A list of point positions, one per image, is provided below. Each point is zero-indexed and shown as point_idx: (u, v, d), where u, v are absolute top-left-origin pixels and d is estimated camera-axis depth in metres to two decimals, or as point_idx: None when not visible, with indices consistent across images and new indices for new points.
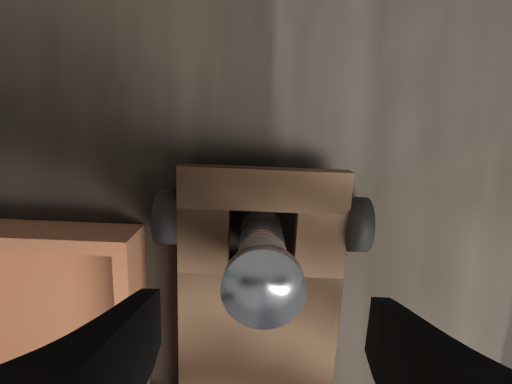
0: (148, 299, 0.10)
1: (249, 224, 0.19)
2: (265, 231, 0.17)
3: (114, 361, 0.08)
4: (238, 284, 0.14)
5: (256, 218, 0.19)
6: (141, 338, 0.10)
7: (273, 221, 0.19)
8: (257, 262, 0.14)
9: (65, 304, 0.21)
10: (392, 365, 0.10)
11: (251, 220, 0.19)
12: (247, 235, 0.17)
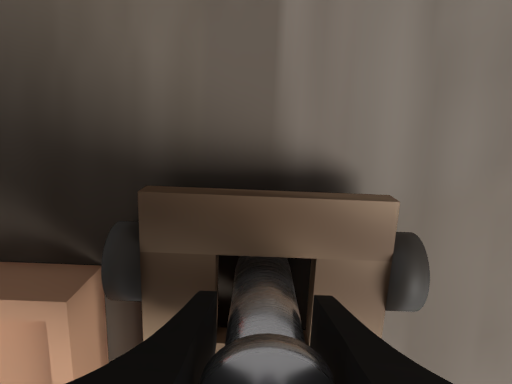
0: (212, 301, 0.10)
1: (245, 273, 0.13)
2: (269, 292, 0.11)
3: (193, 364, 0.08)
4: None
5: (255, 262, 0.14)
6: (207, 340, 0.10)
7: (279, 267, 0.13)
8: (257, 371, 0.08)
9: None
10: None
11: (248, 265, 0.14)
12: (242, 296, 0.12)
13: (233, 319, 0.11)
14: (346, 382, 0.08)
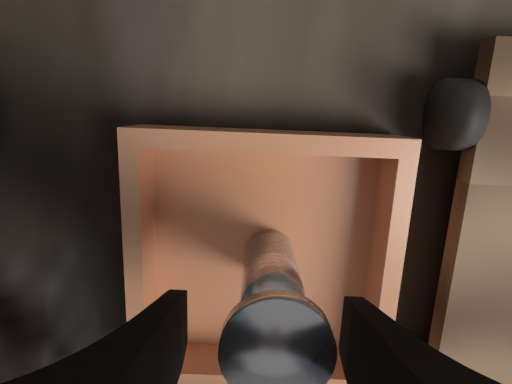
0: (178, 300, 0.10)
1: (255, 250, 0.15)
2: (277, 264, 0.13)
3: (152, 362, 0.08)
4: (243, 346, 0.10)
5: (264, 242, 0.15)
6: (173, 339, 0.10)
7: (285, 246, 0.15)
8: (270, 317, 0.10)
9: (289, 236, 0.17)
10: (360, 363, 0.10)
11: (258, 244, 0.15)
12: (254, 267, 0.13)
13: (247, 284, 0.13)
14: None
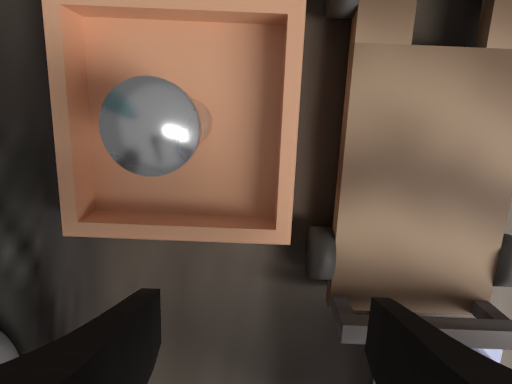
0: (148, 299, 0.10)
1: None
2: None
3: (114, 361, 0.08)
4: (119, 117, 0.12)
5: None
6: (141, 338, 0.10)
7: (196, 102, 0.17)
8: (140, 90, 0.12)
9: (208, 106, 0.19)
10: (392, 365, 0.10)
11: None
12: None
13: None
14: None
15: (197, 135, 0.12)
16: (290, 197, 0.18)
